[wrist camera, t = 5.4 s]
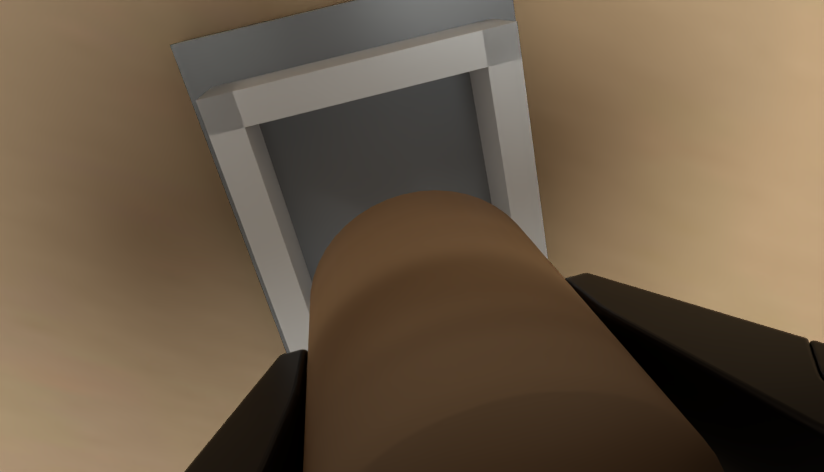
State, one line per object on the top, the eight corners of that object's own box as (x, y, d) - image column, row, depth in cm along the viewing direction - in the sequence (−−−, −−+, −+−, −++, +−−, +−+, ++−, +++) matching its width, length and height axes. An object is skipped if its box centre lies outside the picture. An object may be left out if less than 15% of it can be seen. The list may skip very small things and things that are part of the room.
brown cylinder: (552, 363, 11) (800, 755, 5) (345, 420, 10) (370, 891, 5) (524, 163, 9) (846, 421, 3) (278, 226, 9) (205, 606, 3)
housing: (560, 424, 21) (595, 487, 18) (344, 485, 21) (348, 559, 18) (496, -34, 15) (536, -42, 12) (179, 41, 14) (146, 52, 12)
